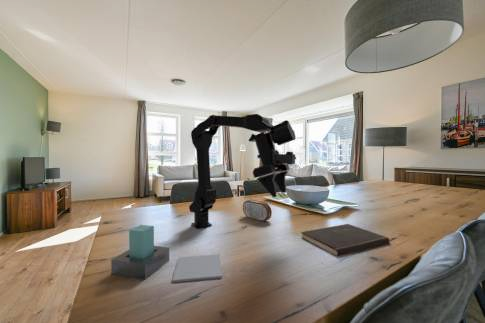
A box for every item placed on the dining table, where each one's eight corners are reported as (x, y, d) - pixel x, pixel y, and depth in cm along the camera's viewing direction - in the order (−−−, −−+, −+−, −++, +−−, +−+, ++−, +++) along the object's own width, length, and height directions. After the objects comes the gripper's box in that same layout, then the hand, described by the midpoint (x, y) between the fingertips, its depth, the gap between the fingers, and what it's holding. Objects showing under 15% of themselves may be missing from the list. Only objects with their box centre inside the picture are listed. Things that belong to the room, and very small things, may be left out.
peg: (141, 262, 56) (140, 224, 56) (154, 264, 55) (153, 226, 55) (129, 269, 53) (129, 229, 52) (143, 272, 52) (142, 231, 51)
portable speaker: (272, 222, 91) (272, 202, 91) (267, 223, 89) (267, 203, 89) (246, 215, 102) (246, 198, 102) (241, 216, 99) (241, 198, 99)
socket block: (139, 256, 60) (139, 243, 60) (169, 260, 57) (169, 247, 57) (111, 274, 51) (111, 259, 51) (145, 279, 48) (144, 264, 48)
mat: (178, 258, 58) (178, 257, 58) (219, 255, 60) (219, 254, 60) (172, 282, 47) (172, 280, 47) (221, 277, 49) (221, 275, 49)
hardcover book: (300, 238, 75) (300, 232, 75) (347, 229, 84) (347, 223, 84) (337, 258, 60) (337, 250, 60) (389, 244, 69) (389, 237, 69)
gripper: (278, 140, 60) (295, 193, 59) (296, 143, 77) (309, 185, 75) (246, 152, 66) (260, 201, 64) (268, 153, 82) (280, 192, 80)
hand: (279, 194), depth 70 cm, fingers open, 9 cm apart
